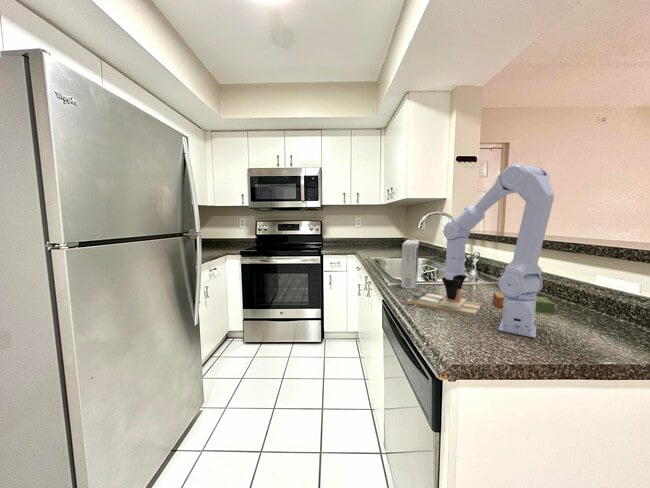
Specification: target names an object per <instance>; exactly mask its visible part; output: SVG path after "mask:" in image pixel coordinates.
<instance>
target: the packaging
mask: <svg viewBox="0 0 650 488" xmlns="http://www.w3.org/2000/svg"><path fill="white" fill-rule="evenodd" d="M401 246H402V248H401V249H402V250H401V273H400V274H401V279H400V282H401V283H400V288H401V287H405V288H416V289H417V284H416V282H418V276H419V251H420V240H419V239H407V240H405V241H404V242H403V243H402V245H401Z"/></svg>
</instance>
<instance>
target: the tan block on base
mask: <svg viewBox="0 0 650 488" xmlns="http://www.w3.org/2000/svg"><path fill="white" fill-rule="evenodd" d="M445 293H446V295H445V296H446V298H445V299H444V300H443V301H441V302H440V305H442V306H447V307H453V308H458V309H460V308H461V307H462V306H463V305H464V303H465V302H466V301H467V298H462V288H461V289H457V293H456V298H455V300H451V299H448V297H447V292H445Z"/></svg>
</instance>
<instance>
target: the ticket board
mask: <svg viewBox="0 0 650 488" xmlns="http://www.w3.org/2000/svg"><path fill="white" fill-rule="evenodd" d="M445 298H446V295H438V294H432V293H429V290H427V289H421V290H419V291H417V292H416V293H414V294H412V296H410V298H408V299H407V300H406V299H405V303H407V304H406V305H408V304H412V305H411V306H414V305H417V306H416V307H419V306H422V307H421V308H424V307H426V309H431V310H435V311H441V312H446V313H452V314H456V315H462V316H467V317H472V318H475V317H476V316H477V314H478V313H479V312H480V310H481V308H482V307H483V303H482V302H481V303H480V302H476V301H475V302H474V301H469V300H466V302H465V303H464V305H463V306H462V307H461V308H460V309H458V308H453V307H447V306H442V305H440V302H441V301H443V300H444V299H445ZM405 303H404V304H405Z"/></svg>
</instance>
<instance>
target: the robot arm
mask: <svg viewBox="0 0 650 488" xmlns="http://www.w3.org/2000/svg"><path fill="white" fill-rule="evenodd" d="M550 176H551V175H550V173H548V172H547V171H546V170H545V169H543V168H542V167H541V166H540V167H539V166H530V165H523V164H519V163H512V164H510V165H508V166H506V168H505V169H504V170H503V171H502V172H501V173H500V174H498V175H497V178H496V181H495V183H494V184H493V185H491V187H490V188H489V189H488V190H487V191H486V192H485V193H484V195H483V196H482V197H481V198H480V199H479V200H478V202H476V203H475V204H474V205H468V206H466V207H464V209H463V212H461V214H459V216H457V217H456V218H455V219H454V220H453V221H449V222H447V223H446V224H445V225H444V227H443V231H442V232H443V236H444V237H445V238H446V249H445V250H446V256H445V268H444V269H441V272H443V273H445V274H446V275H445V276H443V277H442V279H441V281H442V283H443V285H444V288H445V291H446V292H445V293H447V297H448V299H451V300H455V298H456V293H457V289H461V290H462V289H463V284H464V282H465V280H466V278H467V275H465V273H466V272H465V262H466V260H465V259H466V257H465V256H466V244H467V240H468V238H469V237H470V235H471V231H472V230H473V229H474V228H475V227H476V226H477V225H478V224H479V223H480V222H481V221H483V220H484V219H485V213H486V212H487V211H488V210H489V209H491V207H493V206H494V205H495V204H497V202H499V201H500V200H501V199H502V198H504V197H505V196H506V195H512V194H517V195H519V196H520V197H521V199H522V200H523V201H524V202H525V204H524V207H523V209H524V210H523V214H522V219H521V223H520V227H519V230H518V231H519V232H518V235H517V240H516V243H515V244H516V245H515V249H514V254H513V258H512V260H511V261H510V262H509V263H508V265H507V266H506V267H505V268H504V272H503V274H502V275H501V276H500V277H499V279H498V288H499V290H500V291H501V293H503V296H504V301H503V309H502V317H501V318H502V319H501V322H500V324H499V327H498V331H500V332H505V333H509V334H513V335H514V334H515V335H519V336H523V337H524V336H525V337H528V338H535V339H536V338H537V325H536V324H535V321H536V313H535V309H536V297H538V296H537V293H539V292H540V291H541V290H542V288H543V284H544V283H543V279H542V272H543V270H542V268H541V267H540V265H539V259H540V256H541V251H542V248H543V243H544V239H545V236H546V230H547V228H548V223H549V220H550V219H549V218H550V215H551V211H552V207H553V203H554V200H555V199H554V198H555V194H554V191H553V187H552V185H551V183H550V180H549V179H550Z"/></svg>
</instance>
